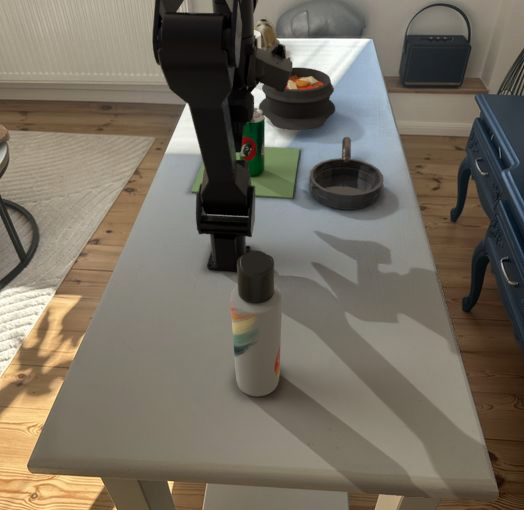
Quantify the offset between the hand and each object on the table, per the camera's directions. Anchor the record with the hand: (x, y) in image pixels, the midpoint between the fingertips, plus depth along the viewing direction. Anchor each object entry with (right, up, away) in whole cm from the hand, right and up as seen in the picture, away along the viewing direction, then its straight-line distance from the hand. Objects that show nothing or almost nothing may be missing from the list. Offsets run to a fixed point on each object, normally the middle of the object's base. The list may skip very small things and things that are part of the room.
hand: (240, 138), depth 82 cm
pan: (+20, -5, +13) cm, 24 cm away
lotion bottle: (+3, -40, -18) cm, 44 cm away
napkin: (+1, +2, +19) cm, 19 cm away
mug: (-1, +42, +55) cm, 70 cm away
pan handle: (+21, +5, +20) cm, 29 cm away
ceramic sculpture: (+4, +59, +64) cm, 87 cm away
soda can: (+2, +1, +18) cm, 18 cm away
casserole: (+12, +22, +37) cm, 44 cm away
